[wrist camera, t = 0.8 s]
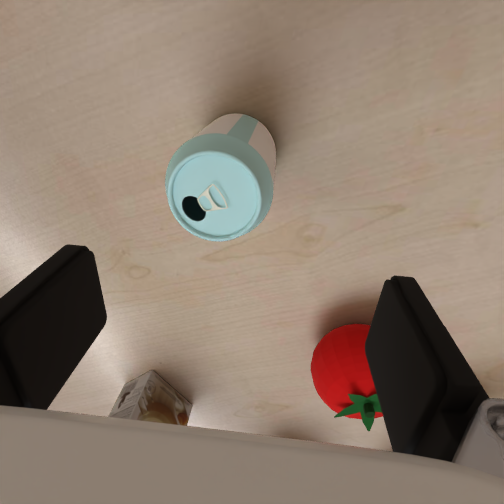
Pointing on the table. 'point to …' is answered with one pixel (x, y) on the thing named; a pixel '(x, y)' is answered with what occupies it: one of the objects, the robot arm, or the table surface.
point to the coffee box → (151, 401)
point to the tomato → (346, 374)
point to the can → (223, 178)
